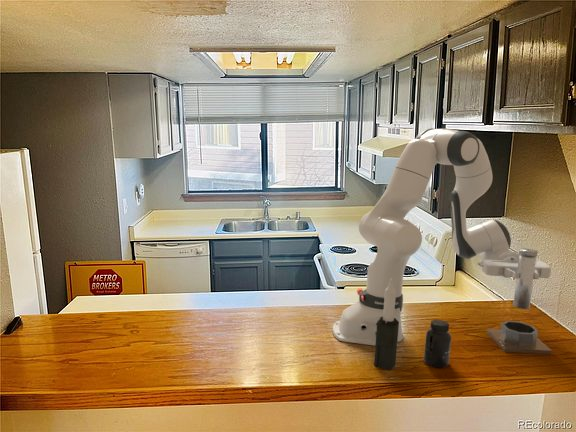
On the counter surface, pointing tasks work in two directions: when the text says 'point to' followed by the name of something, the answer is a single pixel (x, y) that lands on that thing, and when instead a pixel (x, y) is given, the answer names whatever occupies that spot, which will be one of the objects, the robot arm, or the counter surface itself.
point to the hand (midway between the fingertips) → (526, 276)
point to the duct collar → (518, 338)
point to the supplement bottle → (437, 344)
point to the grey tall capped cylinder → (525, 278)
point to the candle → (387, 332)
